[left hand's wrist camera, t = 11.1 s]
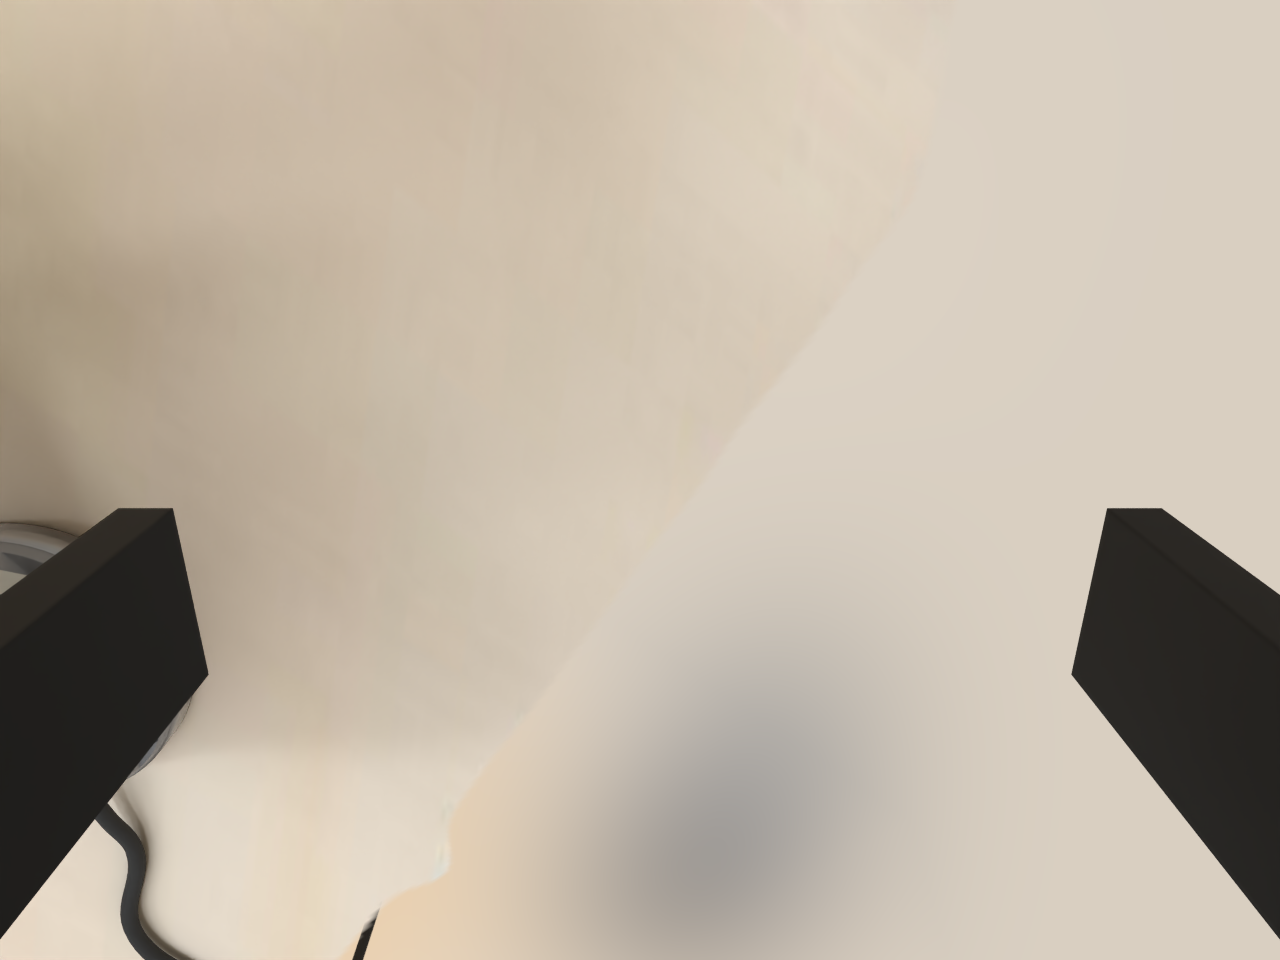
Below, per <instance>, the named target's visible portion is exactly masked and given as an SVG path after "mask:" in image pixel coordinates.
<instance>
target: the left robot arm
mask: <svg viewBox="0 0 1280 960" xmlns="http://www.w3.org/2000/svg"><path fill="white" fill-rule="evenodd" d="M208 675H209V674H208V669H207V665H206V660H205V655H204V651H203V646H202V642H201V637H200V632H199V628H198V623H197V618H196V614H195V609H194V604H193V600H192V595H191V590H190V586H189V581H188V576H187V572H186V567H185V563H184V558H183V553H182V549H181V544H180V539H179V535H178V530H177V525H176V521H175V516H174V511H173V508H118V509H117V510H115V511H114V512H113V513H111V514H110V515H109V516H107V517H106V518H105V519H103V520H102V521H100V522H99V523H98V524H96V525H95V526H94V527H92V528H91V529H89V530H88V531H87V532H85V533H84V534H83V535H81V536H80V537H76V536H74V535H71V534H68V533H65V532H62V531H58V530H55V529H51V528H46V527H41V526H35V525H27V524H13V523H3V524H0V939H1V938H2V936H3V935H4V934H5V933H6V931H7V930H8V929H9V927H10V926H11V925H12V924H13V922H14V921H15V920H16V919H17V917H18V916H19V915H20V913H21V912H22V911H23V910H24V908H25V907H26V906H27V905H28V903H29V902H30V901H31V899H32V898H33V897H34V896H35V894H36V893H37V892H38V891H39V889H40V888H41V887H42V885H43V884H44V883H45V882H46V880H47V879H48V878H49V877H50V875H51V874H52V873H53V872H54V870H55V869H56V868H57V866H58V865H59V864H60V863H61V861H62V860H63V859H64V858H65V856H66V855H67V854H68V852H69V851H70V850H71V849H72V847H73V846H74V845H75V844H76V842H77V841H78V840H79V838H80V837H81V836H82V835H83V833H84V832H85V831H86V830H87V828H88V827H89V826H90V824H91V823H92V822H93V821H94V819H95V820H96V821H97V822H98V823H99V824H100V825H101V827H102V828H103V829H104V830H105V831H106V832H107V833H108V834H110V835H111V836H112V837H113V838H114V839H115V840H116V841H117V842H118V843H119V844H120V845H121V846H122V847H123V849H124V850H125V852H126V856H127V859H128V874H127V880H126V884H125V888H124V892H123V897H122V902H121V913H120V915H121V923H122V926H123V930H124V932H125V934H126V936H127V938H128V940H129V942H130V943H131V945H132V946H133V947H134V949H135V950H136V951H137V952H138V953H139V954H140V955H141V957H142V958H144V959H145V960H176V959H175V958H173V957H172V956H170V955H168V954H167V953H166V952H164V951H163V950H161V949H160V948H159V947H158V946H157V945H155V944H154V943H153V942H152V940H151V939H150V938H149V937H148V936H147V934H146V933H145V932H144V930H143V928H142V926H141V924H140V921H139V917H138V902H139V897H140V893H141V889H142V885H143V881H144V876H145V870H146V858H145V852H144V848H143V846H142V843H141V841H140V839H139V837H138V836H137V834H136V833H135V832H134V831H133V829H132V828H131V827H130V826H129V825H127V824H126V823H125V822H124V821H123V820H122V819H121V818H120V817H119V816H118V815H117V814H116V813H115V812H114V810H113V809H112V808H111V807H110V806H109V804H108V802H109V800H110V799H111V798H112V797H113V795H114V794H115V793H116V791H117V790H118V789H119V788H120V786H121V785H122V784H123V783H124V781H125V780H126V779H127V778H129V777H131V776H133V775H135V774H136V773H137V772H139V771H140V770H142V769H143V768H144V767H145V766H147V765H148V764H149V763H150V762H151V761H152V760H153V759H154V758H155V757H156V755H157V754H158V753H159V752H160V751H161V749H162V748H163V747H164V745H165V744H166V743H167V741H168V740H169V739H170V738H171V736H172V735H173V734H174V732H175V731H176V730H177V728H178V727H179V725H180V724H181V722H182V721H183V718H184V716H185V714H186V712H187V710H188V707H189V704H190V701H191V696H192V695H193V694H194V692H195V691H196V690H197V689H198V687H199V686H200V685H201V683H202V682H203V681H204V680H205V678H206V677H207V676H208ZM1072 676H1073V677H1074V678H1075V680H1076V681H1077V682H1078V683H1079V685H1080V686H1081V687H1082V688H1083V690H1084V691H1085V692H1086V693H1087V695H1088V696H1089V697H1090V699H1091V700H1092V701H1093V702H1094V704H1095V705H1096V706H1097V708H1098V709H1099V710H1100V711H1101V713H1102V714H1103V715H1104V716H1105V718H1106V719H1107V720H1108V722H1109V723H1110V724H1111V725H1112V727H1113V728H1114V729H1115V730H1116V732H1117V733H1118V734H1119V736H1120V737H1121V738H1122V739H1123V741H1124V742H1125V743H1126V744H1127V746H1128V747H1129V748H1130V749H1131V751H1132V752H1133V753H1134V755H1135V756H1136V757H1137V758H1138V760H1139V761H1140V762H1141V763H1142V765H1143V766H1144V767H1145V768H1146V770H1147V771H1148V772H1149V774H1150V775H1151V776H1152V777H1153V779H1154V780H1155V781H1156V783H1157V784H1158V785H1159V786H1160V788H1161V789H1162V790H1163V791H1164V793H1165V794H1166V795H1167V796H1168V798H1169V799H1170V800H1171V802H1172V803H1173V804H1174V805H1175V807H1176V808H1177V809H1178V811H1179V812H1180V813H1181V814H1182V816H1183V817H1184V818H1185V819H1186V821H1187V822H1188V823H1189V824H1190V826H1191V827H1192V828H1193V830H1194V831H1195V832H1196V833H1197V835H1198V836H1199V837H1200V838H1201V840H1202V841H1203V842H1204V843H1205V845H1206V846H1207V847H1208V849H1209V850H1210V851H1211V852H1212V854H1213V855H1214V856H1215V858H1216V859H1217V860H1218V861H1219V863H1220V864H1221V865H1222V866H1223V868H1224V869H1225V870H1226V872H1227V873H1228V874H1229V875H1230V877H1231V878H1232V879H1233V880H1234V882H1235V883H1236V884H1237V885H1238V887H1239V888H1240V889H1241V891H1242V892H1243V893H1244V894H1245V896H1246V897H1247V898H1248V899H1249V901H1250V902H1251V903H1252V905H1253V906H1254V907H1255V908H1256V910H1257V911H1258V912H1259V913H1260V915H1261V916H1262V917H1263V918H1264V920H1265V921H1266V922H1267V924H1268V925H1269V926H1270V927H1271V929H1272V930H1273V931H1274V933H1275V934H1276V935H1277V936H1278V938H1279V939H1280V595H1279V594H1278V593H1276V592H1275V591H1274V590H1272V589H1271V588H1270V587H1268V586H1267V585H1266V584H1264V583H1263V582H1261V581H1260V580H1259V579H1257V578H1256V577H1255V576H1253V575H1252V574H1251V573H1249V572H1248V571H1246V570H1245V569H1244V568H1242V567H1241V566H1240V565H1238V564H1237V563H1236V562H1234V561H1233V560H1231V559H1230V558H1229V557H1227V556H1226V555H1225V554H1223V553H1222V552H1221V551H1219V550H1218V549H1216V548H1215V547H1214V546H1212V545H1211V544H1210V543H1208V542H1207V541H1206V540H1204V539H1203V538H1201V537H1200V536H1199V535H1197V534H1196V533H1195V532H1193V531H1192V530H1190V529H1189V528H1188V527H1186V526H1185V525H1184V524H1182V523H1181V522H1179V521H1178V520H1177V519H1175V518H1174V517H1173V516H1171V515H1170V514H1169V513H1167V512H1166V511H1165V510H1163V509H1162V508H1107V511H1106V516H1105V521H1104V525H1103V530H1102V535H1101V539H1100V544H1099V549H1098V553H1097V558H1096V563H1095V567H1094V572H1093V577H1092V581H1091V586H1090V591H1089V595H1088V600H1087V605H1086V609H1085V614H1084V618H1083V623H1082V628H1081V632H1080V637H1079V642H1078V646H1077V651H1076V655H1075V660H1074V665H1073V669H1072ZM378 913H379V911H378V912H377V913H376V915H375V916H374V918H373V919H372V920H371V921H370V922H369V923H368V924H367V925H366V926H365V928H364V929H363V931H362V932H361V935H360V938H359V941H358V944H357V947H356V950H355V953H354V956H353V959H352V960H363V959H364V956H365V953H366V949H367V946H368V943H369V940H370V937H371V934H372V931H373V928H374V925H375V922H376V919H377V916H378Z"/></svg>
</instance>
